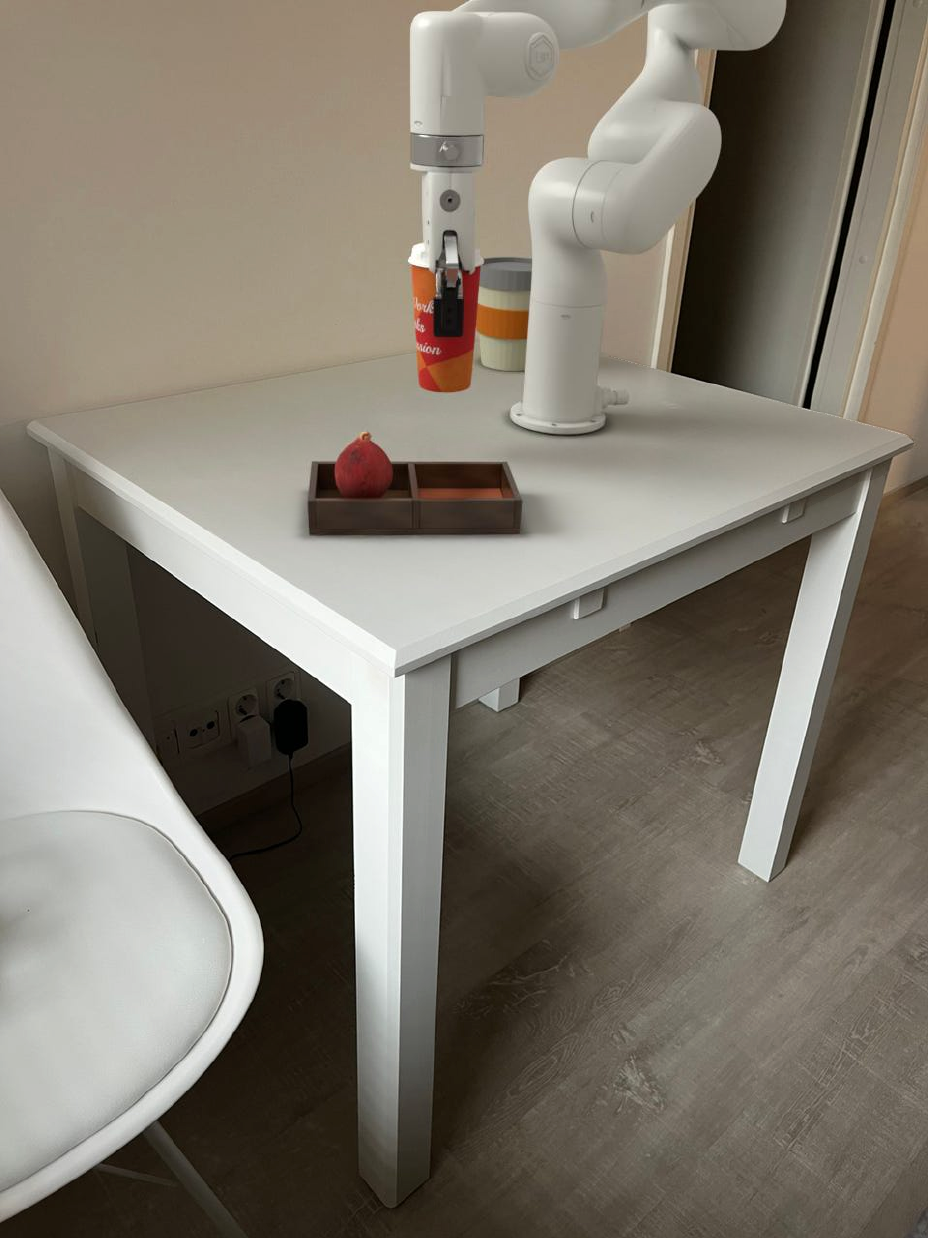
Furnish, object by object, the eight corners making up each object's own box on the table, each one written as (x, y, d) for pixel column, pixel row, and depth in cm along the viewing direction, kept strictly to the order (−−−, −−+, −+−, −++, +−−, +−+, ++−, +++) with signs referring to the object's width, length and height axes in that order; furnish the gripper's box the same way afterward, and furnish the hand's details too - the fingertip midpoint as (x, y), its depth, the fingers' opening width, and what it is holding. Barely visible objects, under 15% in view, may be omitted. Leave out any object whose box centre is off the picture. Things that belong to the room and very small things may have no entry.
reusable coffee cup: (487, 349, 160) (492, 253, 153) (559, 359, 156) (568, 262, 148) (457, 366, 150) (460, 265, 142) (533, 378, 146) (541, 274, 138)
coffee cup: (407, 373, 114) (406, 239, 107) (476, 373, 115) (480, 240, 107) (410, 396, 107) (409, 254, 100) (484, 395, 108) (488, 254, 100)
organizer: (505, 492, 106) (507, 461, 104) (520, 533, 97) (522, 500, 95) (313, 492, 104) (311, 460, 102) (309, 535, 94) (307, 500, 93)
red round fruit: (369, 523, 96) (368, 446, 92) (323, 509, 99) (321, 433, 95) (403, 504, 100) (403, 430, 96) (358, 492, 103) (357, 419, 99)
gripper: (493, 162, 92) (487, 346, 101) (474, 146, 107) (470, 307, 116) (414, 161, 91) (415, 346, 100) (406, 145, 106) (407, 307, 115)
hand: (444, 325), depth 108 cm, fingers closed on coffee cup, 8 cm apart
